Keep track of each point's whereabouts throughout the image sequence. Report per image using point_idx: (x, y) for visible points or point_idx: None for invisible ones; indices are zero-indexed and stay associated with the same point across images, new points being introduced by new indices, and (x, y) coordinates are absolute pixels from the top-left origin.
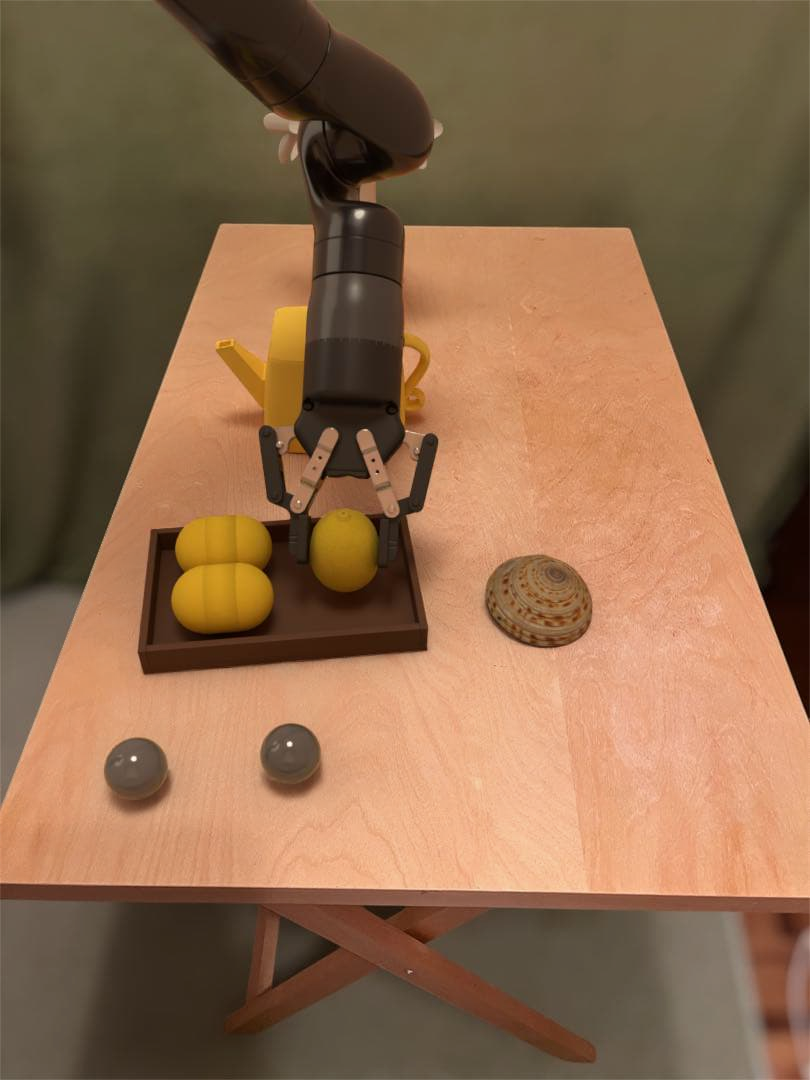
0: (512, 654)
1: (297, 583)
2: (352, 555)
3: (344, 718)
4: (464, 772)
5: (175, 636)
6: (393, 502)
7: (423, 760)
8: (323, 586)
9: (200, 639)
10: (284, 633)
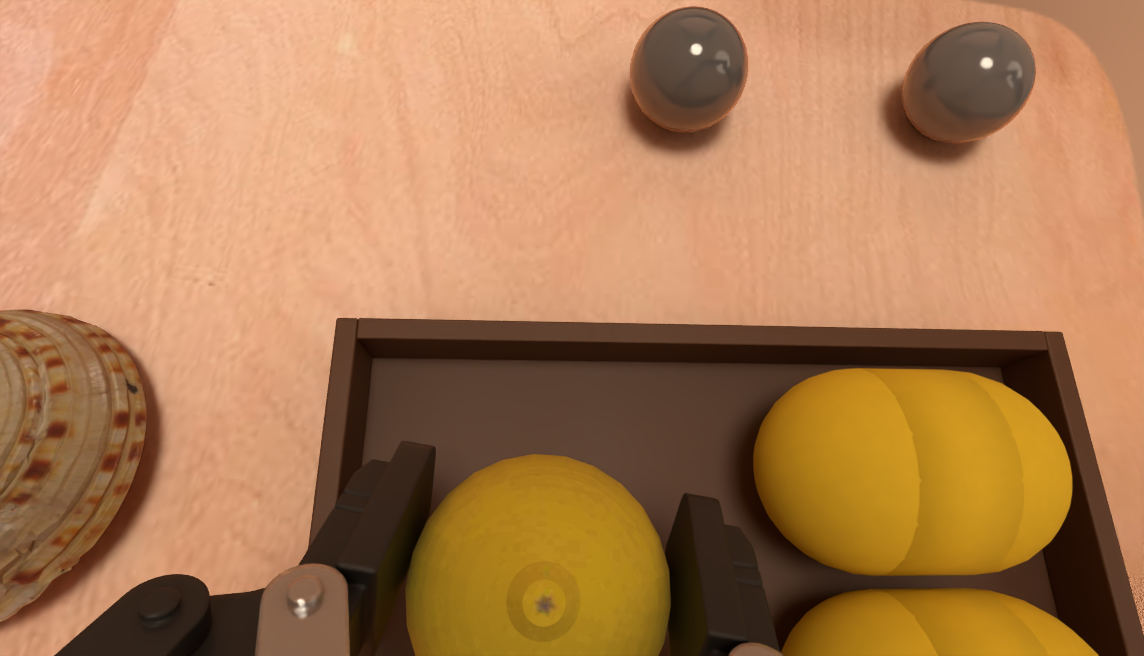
0: (154, 309)
1: None
2: (521, 464)
3: (573, 198)
4: (363, 64)
5: None
6: (280, 624)
7: (433, 95)
8: None
9: None
10: (704, 420)
